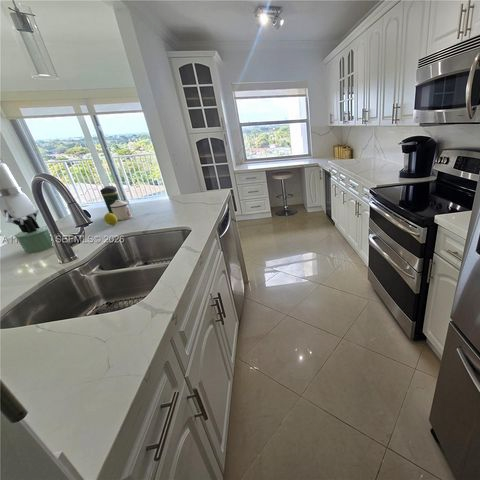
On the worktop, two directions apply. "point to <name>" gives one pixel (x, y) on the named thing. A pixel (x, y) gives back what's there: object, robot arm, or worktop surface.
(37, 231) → the lid
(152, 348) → the worktop surface
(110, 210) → the coffee jar
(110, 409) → the worktop surface
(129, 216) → the teacup with lid
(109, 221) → the lemon
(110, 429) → the worktop surface
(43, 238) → the green round open container
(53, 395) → the worktop surface
